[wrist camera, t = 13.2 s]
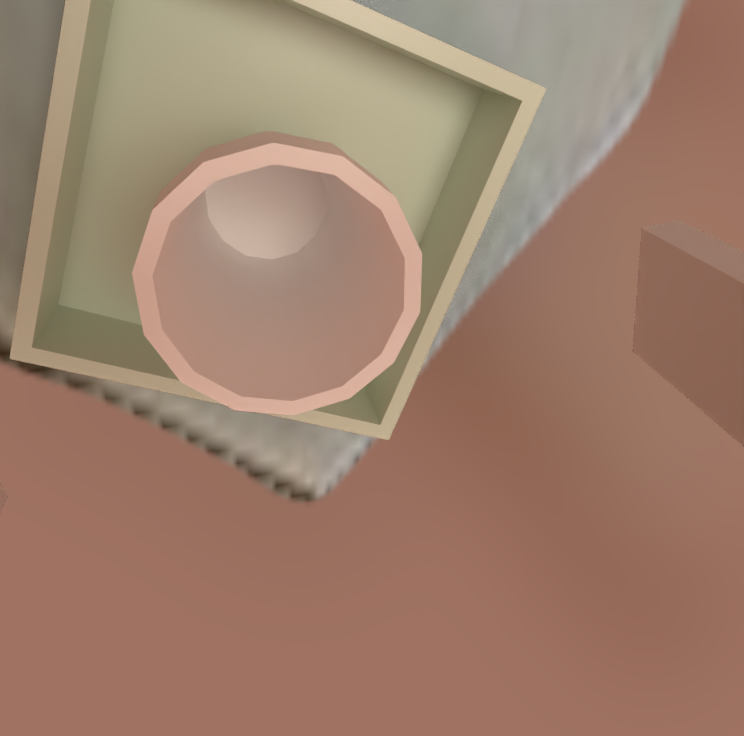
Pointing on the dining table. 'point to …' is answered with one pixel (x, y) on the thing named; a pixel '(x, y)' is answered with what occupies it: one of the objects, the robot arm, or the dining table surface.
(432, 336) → the bin
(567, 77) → the dining table surface
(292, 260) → the foam cup
